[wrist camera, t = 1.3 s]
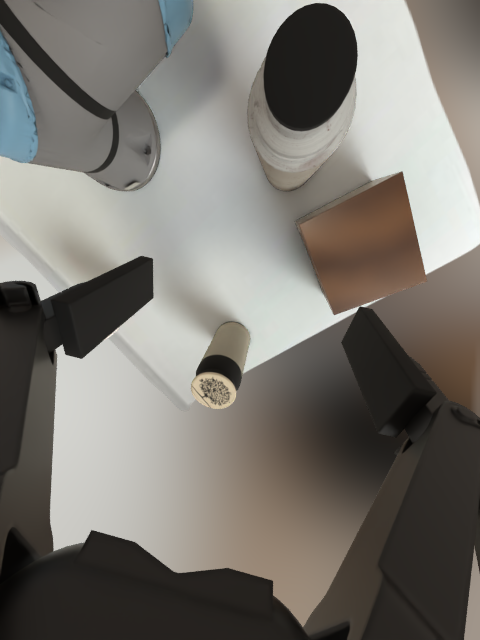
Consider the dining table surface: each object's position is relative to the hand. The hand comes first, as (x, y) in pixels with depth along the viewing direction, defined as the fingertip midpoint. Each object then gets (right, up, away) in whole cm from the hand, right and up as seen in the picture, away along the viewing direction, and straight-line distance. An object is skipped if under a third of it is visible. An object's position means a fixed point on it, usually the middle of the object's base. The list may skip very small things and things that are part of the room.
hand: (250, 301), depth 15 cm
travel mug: (-2, -5, +38) cm, 39 cm away
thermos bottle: (+7, +24, +23) cm, 34 cm away
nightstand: (+18, +12, +26) cm, 34 cm away
